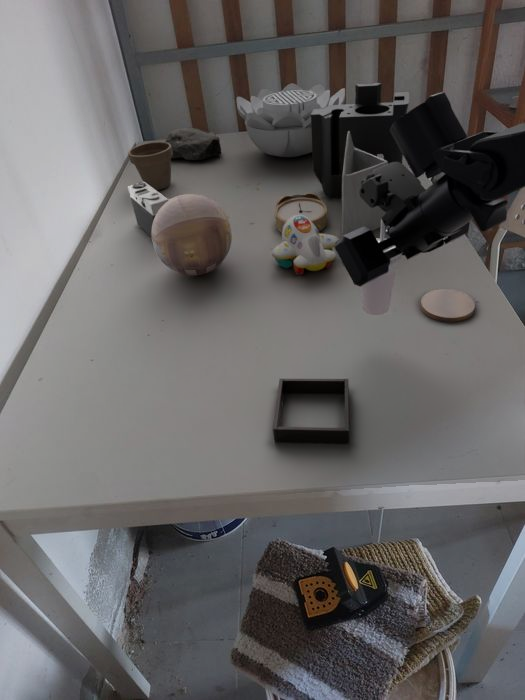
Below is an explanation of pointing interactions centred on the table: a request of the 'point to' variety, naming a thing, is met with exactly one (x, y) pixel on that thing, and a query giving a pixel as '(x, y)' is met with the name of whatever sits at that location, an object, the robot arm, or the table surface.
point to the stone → (193, 144)
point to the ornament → (191, 234)
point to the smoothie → (380, 285)
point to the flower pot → (153, 163)
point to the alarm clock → (301, 209)
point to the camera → (146, 204)
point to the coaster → (447, 305)
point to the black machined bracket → (354, 133)
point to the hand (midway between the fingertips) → (370, 261)
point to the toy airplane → (304, 246)
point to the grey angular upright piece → (358, 189)
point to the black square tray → (311, 433)
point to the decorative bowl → (285, 118)
